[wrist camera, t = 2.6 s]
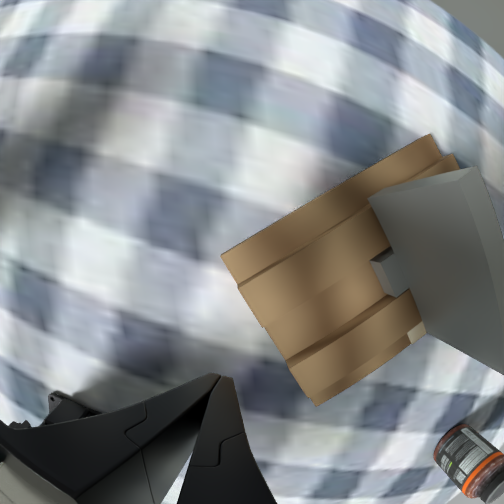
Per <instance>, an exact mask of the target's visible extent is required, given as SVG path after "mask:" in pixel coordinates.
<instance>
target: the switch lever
mask: <svg viewBox="0 0 504 504" xmlns="http://www.w3.org/2000/svg"><path fill="white" fill-rule="evenodd" d="M367 199H368V201H369V203H370V205H371V207H372V209H373V210H374V212H375V214H376V216H377V218H378V220H379V222H380V224H381V226H382V228H383V230H384V232H385V234H386V237H387V239H388V241H389V243H390V245H391V246H389V247H388V248H386V249H385V250H384V251H382V252H381V253H379V254H378V255H376V256H375V257H373V258H372V259H370V260H369V261H370V263H371V265H372V267H373V269H374V271H375V273H376V276H377V278H378V280H379V282H380V284H381V286H382V288H383V291H384V293H386V294H389V295H391V296H393V297H398V296H399V295H400V294H402V293H403V292H404V291H406V290H407V289H408V288H410V290H411V293H412V295H413V298H414V300H415V303H416V306H417V308H418V311H419V313H420V316H421V319H422V321H423V324H424V327H425V330H426V332H427V333H429V334H431V335H432V336H434V337H436V338H438V339H440V340H441V341H443V342H445V343H447V344H449V345H451V346H452V347H454V348H456V349H458V350H460V351H461V352H463V353H465V354H467V355H469V356H470V357H472V358H474V359H476V360H477V361H479V362H481V363H483V364H485V365H486V366H488V367H490V368H492V369H494V370H495V371H497V372H499V373H501V374H502V375H504V240H503V236H502V233H501V229H500V226H499V223H498V220H497V217H496V214H495V211H494V208H493V205H492V202H491V199H490V197H489V194H488V191H487V189H486V186H485V184H484V181H483V179H482V176H481V174H480V171H479V169H478V167H477V166H473V167H469V168H464V169H460V170H456V171H452V172H447V173H443V174H439V175H435V176H431V177H427V178H422V179H418V180H414V181H410V182H406V183H402V184H398V185H394V186H390V187H386V188H383V189H382V190H380V191H379V192H377V193H375V194H374V195H372V196H371V197H369V198H367Z"/></svg>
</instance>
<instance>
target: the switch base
mask: <svg viewBox="0 0 504 504" xmlns="http://www.w3.org/2000/svg"><path fill="white" fill-rule="evenodd" d="M456 170H460V168H459V166H458V164H457V162H456V159H455V157H454V155H453V154H450V155H447V156H444V157H442V156H441V154H440V152H439V150H438V148H437V146H436V144H435V142H434V140H433V138H432V136H431V135H430V134H428V135H426V136H423V137H421V138H419V139H418V140H416V141H414V142H412V143H410V144H409V145H407V146H405V147H403V148H402V149H400V150H398V151H396V152H395V153H393V154H391V155H389V156H388V157H386V158H384V159H382V160H381V161H379V162H377V163H376V164H374V165H372V166H370V167H369V168H367V169H365V170H363V171H362V172H360V173H358V174H356V175H355V176H353V177H351V178H350V179H348V180H346V181H344V182H343V183H341V184H339V185H338V186H336V187H334V188H332V189H331V190H329V191H327V192H326V193H324V194H322V195H320V196H319V197H317V198H315V199H314V200H312V201H310V202H308V203H307V204H305V205H303V206H302V207H300V208H298V209H297V210H295V211H293V212H292V213H290V214H288V215H286V216H285V217H283V218H281V219H280V220H278V221H276V222H275V223H273V224H271V225H270V226H268V227H266V228H265V229H263V230H261V231H260V232H258V233H256V234H254V235H253V236H251V237H249V238H248V239H246V240H244V241H243V242H241V243H239V244H238V245H236V246H234V247H233V248H231V249H229V250H228V251H226V252H224V253H223V254H221V256H220V257H221V258H222V260H223V262H224V263H225V265H226V267H227V268H228V270H229V271H230V273H231V275H232V276H233V278H234V280H235V281H236V283H237V285H238V290H239V291H240V293H241V295H242V296H243V298H244V300H245V301H246V303H247V304H248V306H249V308H250V309H251V311H252V312H253V314H254V315H255V317H256V319H257V320H258V322H259V323H260V325H261V327H262V328H263V327H264V328H265V329H266V331H267V332H268V334H269V336H270V337H271V339H272V340H273V342H274V343H275V345H276V346H277V348H278V350H279V351H280V353H281V354H282V356H283V357H284V359H285V361H286V363H287V366H288V368H289V370H290V372H291V373H292V375H293V376H294V378H295V379H296V381H297V382H298V384H299V385H300V387H301V388H302V390H303V391H304V393H305V394H306V396H307V397H308V398H310V399H311V400H312V402H313V403H314V405H315V406H316V407H317V406H319V405H320V404H322V403H324V402H325V401H327V400H329V399H331V398H332V397H334V396H336V395H337V394H339V393H340V392H342V391H344V390H345V389H347V388H349V387H350V386H352V385H353V384H355V383H356V382H358V381H359V380H361V379H362V378H364V377H365V376H367V375H368V374H370V373H371V372H373V371H374V370H376V369H377V368H379V367H380V366H382V365H383V364H384V363H386V362H387V361H389V360H390V359H391V358H393V357H394V356H395V355H397V354H398V353H399V352H401V351H402V350H403V349H405V348H406V347H407V346H409V345H410V344H414V343H415V342H416V341H417V340H419V339H420V338H421V337H422V336H424V335H425V334H426V333H427V332H426V330H425V327H424V324H423V321H422V319H421V316H420V313H419V311H418V308H417V306H416V303H415V300H414V298H413V295H412V293H411V290H410V288H408V289H407V290H406V291H404V292H403V293H402V294H400V295H399V296H398V297H393V296H391V295H389V294H386V293H384V291H383V288H382V286H381V284H380V282H379V280H378V278H377V276H376V273H375V271H374V269H373V267H372V265H371V263H370V261H369V260H370V259H372V258H373V257H375V256H376V255H378V254H379V253H381V252H382V251H384V250H385V249H386V248H388V247H389V246H391V245H390V243H389V241H388V239H387V237H386V234H385V232H384V230H383V228H382V226H381V224H380V222H379V220H378V218H377V216H376V214H375V212H374V210H373V209H372V207H371V205H370V203H369V201H368V199H367V198H369V197H371V196H372V195H374V194H375V193H377V192H379V191H380V190H382V189H383V188H386V187H390V186H394V185H398V184H402V183H406V182H410V181H414V180H418V179H422V178H427V177H431V176H435V175H439V174H443V173H447V172H452V171H456Z"/></svg>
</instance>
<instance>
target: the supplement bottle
mask: <svg viewBox="0 0 504 504" xmlns="http://www.w3.org/2000/svg"><path fill="white" fill-rule="evenodd" d="M434 460H435V461H436V462H437V464H438V465H439V466H440V467H441V468H442V470H443V471H444V472H445V473H446V474H447V475H448V476H449V477H450V479H451V480H452V481H453V482H454V483H455V484H456V485H457V487H458V488H459V489H460V490H461V491H462V492H463V493H464V494H465V495H466V496H467V497H468V498H476V497H481V500H483V501H484V502H485V503H486V504H490V503H492V502H493V501H495V500H496V499H497V498H498V497H500V496H501V495H502V494H503V493H504V454H503V453H502V452H501V451H499V450H498V449H497V448H496V447H494V446H493V445H492V444H491V443H489V442H488V441H487V440H486V439H485V438H483V437H482V436H481V435H480V434H479V433H477V432H476V431H475V430H474V429H473V428H471V427H470V426H469V425H466V424H463V425H459V426H456V427H455V428H453V429H451V430H450V431H449V432H448V433H447V434H446V435H445V436H444V437H443V438H442V439H441V440H440V442H439V443H438V445H437V446H436V448H435V451H434Z"/></svg>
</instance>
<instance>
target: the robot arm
mask: <svg viewBox="0 0 504 504" xmlns="http://www.w3.org/2000/svg"><path fill="white" fill-rule="evenodd" d="M53 398H54V399H53ZM48 400H49V412H50V413H49V415H48V416H47V417H46V418H45V419H44V421H43V422H42V424H41V425H40V426H38V427H31V426H30V425H31V424H30V423H29V422H28V421H27V420H25V421H24V422H23V423H22V424H21V423H16V422H14V421H13V422H12V423H11V424H10V425H9V426H7V425H6V424H5V423H3V422H2V421H1V420H0V504H161V502H162V501H163V499H164V497H165V496H166V494H167V493H168V491H169V489H170V488H171V486H172V485H173V483H174V481H175V480H176V478H177V476H178V475H179V473H180V471H181V470H182V468H183V466H184V465H185V463H186V461H187V460H188V458H189V456H190V455H191V453H192V451H193V453H192V456H191V459H190V462H189V466H188V469H187V472H186V475H185V479H184V482H183V485H182V488H181V492H180V495H179V498H178V501H177V504H277V502H276V501H275V499H274V497H273V495H272V493H271V491H270V489H269V487H268V485H267V483H266V481H265V479H264V477H263V475H262V473H261V471H260V469H259V467H258V465H257V463H256V461H255V459H254V456H253V454H252V452H251V449H250V446H249V443H248V439H247V435H246V432H245V428H244V424H243V420H242V416H241V412H240V407H239V403H238V399H237V395H236V390H235V386H234V381H233V378H231V377H227V376H221V375H219V374H215V373H208V374H206V375H204V376H201V377H199V378H197V379H195V380H193V381H190V382H188V383H186V384H183V385H181V386H179V387H177V388H174V389H172V390H170V391H167V392H165V393H162V394H160V395H158V396H155V397H153V398H150V399H148V400H145V401H144V402H143V401H142V402H139V403H137V404H134V405H131V406H128V407H126V408H123V409H119V410H115V411H112V412H108V413H104V414H102V413H99V412H97V411H94V410H92V409H89V408H87V407H84V406H82V405H79V404H77V403H75V402H72V401H70V400H68V399H66V398H63V397H61V396H59V395H57V394H55V393H51V394H50V395H49V396H48Z"/></svg>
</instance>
